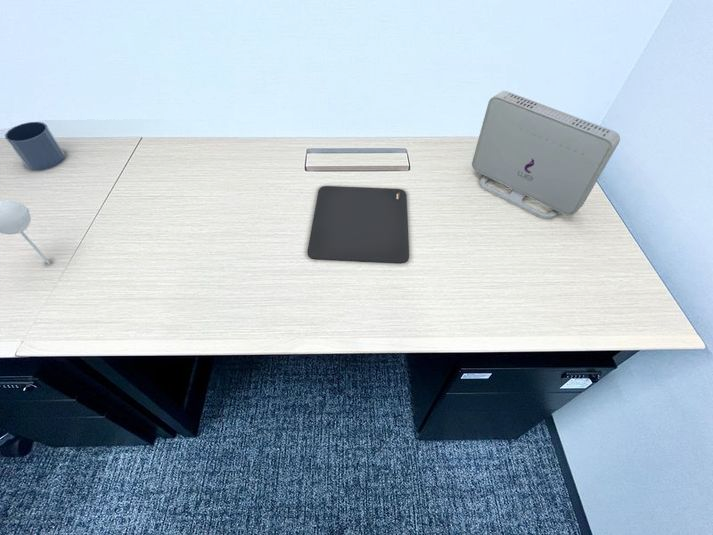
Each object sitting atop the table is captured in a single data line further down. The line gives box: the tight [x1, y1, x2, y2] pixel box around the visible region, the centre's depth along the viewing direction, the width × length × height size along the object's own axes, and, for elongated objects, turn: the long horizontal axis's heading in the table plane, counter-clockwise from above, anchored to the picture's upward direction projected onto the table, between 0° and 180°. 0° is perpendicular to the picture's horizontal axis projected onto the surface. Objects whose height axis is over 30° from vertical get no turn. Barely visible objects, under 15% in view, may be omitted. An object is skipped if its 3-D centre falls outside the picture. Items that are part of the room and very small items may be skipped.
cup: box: [4, 121, 66, 172], centre depth 96 cm, size 9×9×8 cm
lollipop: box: [0, 199, 51, 265], centre depth 72 cm, size 6×6×15 cm
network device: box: [471, 90, 621, 220], centre depth 85 cm, size 26×9×20 cm, turn 47°
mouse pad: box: [307, 185, 410, 264], centre depth 86 cm, size 23×20×1 cm
